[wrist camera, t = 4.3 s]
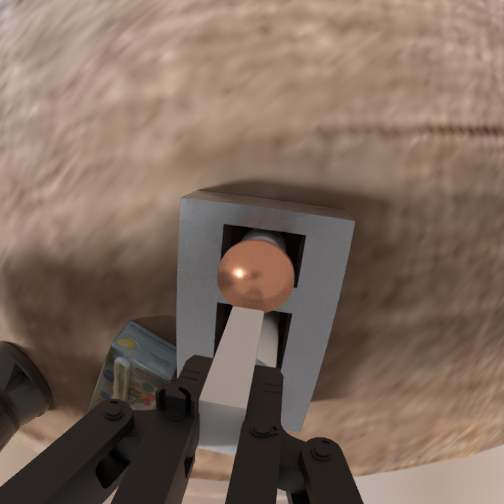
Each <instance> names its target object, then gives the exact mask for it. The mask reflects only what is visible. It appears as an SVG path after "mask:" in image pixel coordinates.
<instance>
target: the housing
mask: <svg viewBox="0 0 504 504" xmlns="http://www.w3.org/2000/svg"><path fill="white" fill-rule="evenodd" d="M232 225H237V226H245V227H252V228H259V229H267V230H274V231H281V232H288V233H295V234H302V235H301V241H300V247H299V254H298V260H297V266H296V267H293V269H294V286H293V290H292V292H291V294H290V296H289V298H288V299H287V300H286V302H285V303H284V304H283V305H281V306H280V307H279V308H277V309H275V310H273V311H279V312H286V313H288V317H287V322H286V328H285V333H284V338H283V343H282V344H280V343H278V347H277V360H276V368H279V369H280V371H281V373H282V375H283V376H284V379H283V394H282V410H281V425H282V427H283V429H284V430H287V431H297V432H301V429H302V426H303V423H304V420H305V417H306V414H307V411H308V408H309V405H310V402H311V398H312V395H313V392H314V389H315V385H316V382H317V379H318V376H319V372H320V369H321V365H322V362H323V358H324V355H325V351H326V347H327V344H328V340H329V336H330V333H331V329H332V325H333V321H334V317H335V313H336V309H337V305H338V301H339V297H340V292H341V288H342V284H343V279H344V275H345V270H346V266H347V261H348V256H349V251H350V246H351V241H352V236H353V231H354V226H355V220H354V219H353V218H352V217H351V216H350V215H349V214H348V213H347V211H346V210H343V209H337V208H331V207H324V206H318V205H311V204H304V203H298V202H291V201H283V200H276V199H269V198H261V197H253V196H245V195H237V194H228V193H220V192H211V191H201V190H197V191H194V192H192V193H190V194H188V195H186V196H183V197H181V201H180V218H179V238H178V263H177V316H176V335H177V378H178V377H179V374H180V372H181V370H182V368H183V366H184V364H185V362H186V360H188V359H189V358H190V357H192V356H193V355H194V354H195V355H200V356H205V357H210V358H214V357H215V354H216V352H217V349H218V346H219V344H220V341H221V338H222V335H223V325H224V313H225V304H230V303H229V302H228V301H227V300H226V299H225V298H224V296H223V295H222V293H221V291H220V289H219V286H218V281H217V271H218V267H219V264H220V262H221V260H222V258H223V257H224V255H225V253H226V252H227V251H228V250H229V249H230V246H231V235H232Z"/></svg>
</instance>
